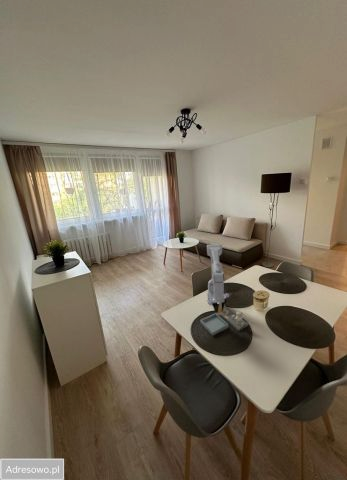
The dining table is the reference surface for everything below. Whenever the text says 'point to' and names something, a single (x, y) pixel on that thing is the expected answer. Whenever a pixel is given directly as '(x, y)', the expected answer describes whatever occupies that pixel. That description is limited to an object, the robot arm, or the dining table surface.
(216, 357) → the dining table surface
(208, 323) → the tray
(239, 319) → the fuse
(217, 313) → the marked fuse
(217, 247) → the robot arm
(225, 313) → the fuse block
